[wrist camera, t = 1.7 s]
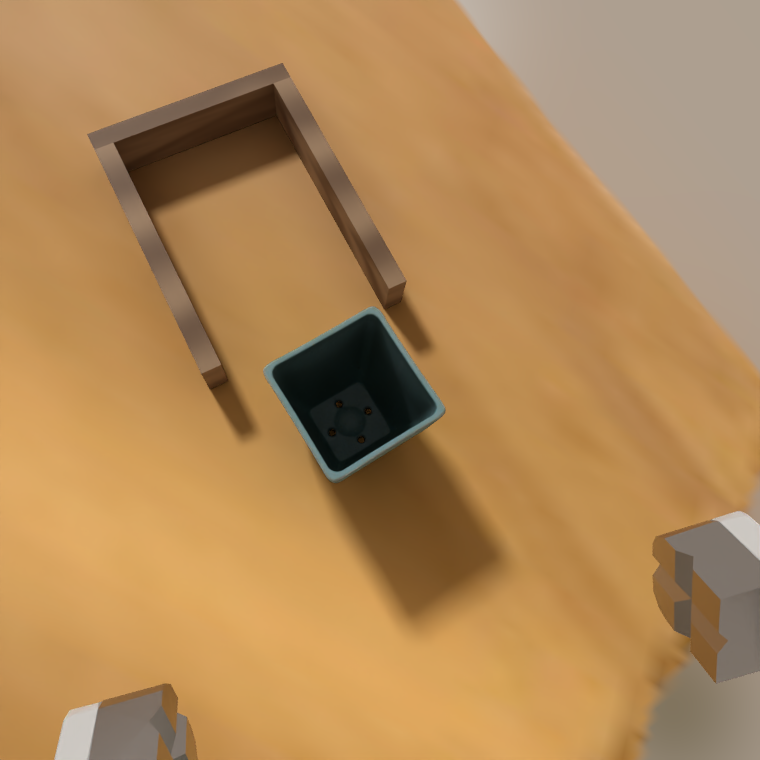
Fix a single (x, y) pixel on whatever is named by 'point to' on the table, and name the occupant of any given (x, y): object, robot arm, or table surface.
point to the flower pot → (354, 393)
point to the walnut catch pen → (212, 120)
